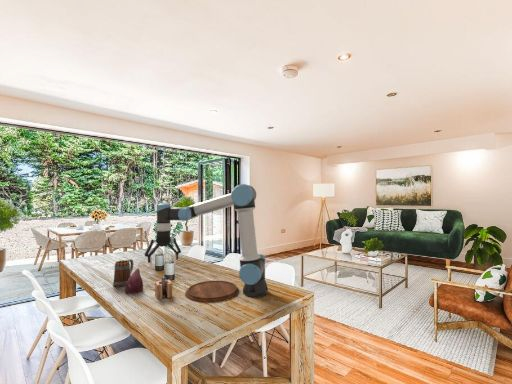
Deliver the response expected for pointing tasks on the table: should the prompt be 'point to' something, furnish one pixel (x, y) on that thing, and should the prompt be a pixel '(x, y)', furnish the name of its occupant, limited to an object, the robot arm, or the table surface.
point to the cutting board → (211, 291)
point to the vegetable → (134, 283)
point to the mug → (122, 272)
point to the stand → (164, 287)
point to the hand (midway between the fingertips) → (163, 266)
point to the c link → (159, 289)
